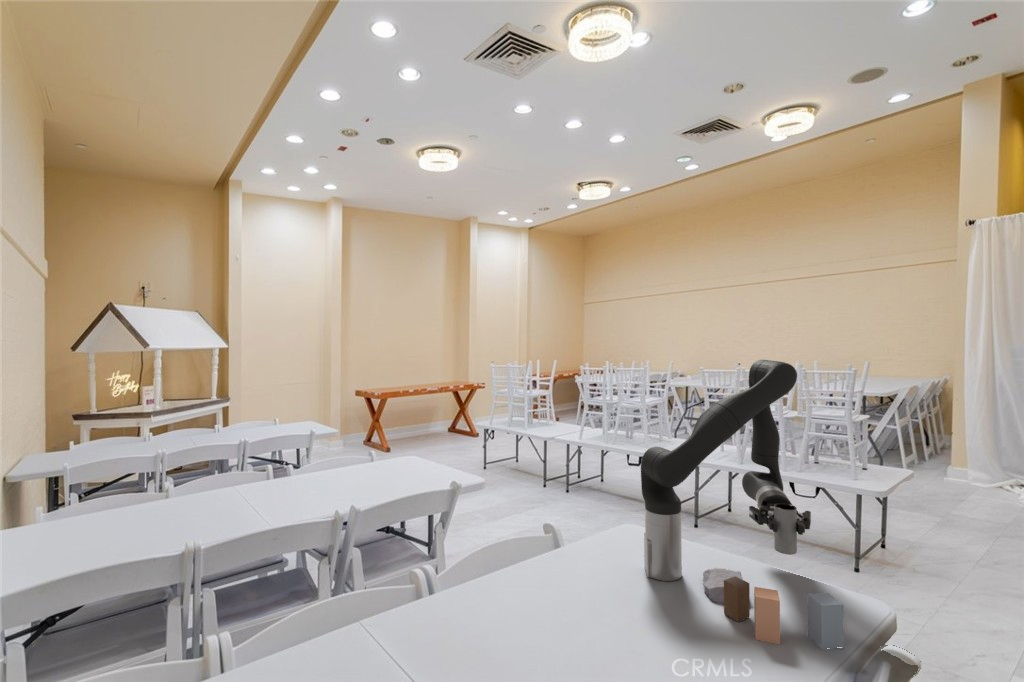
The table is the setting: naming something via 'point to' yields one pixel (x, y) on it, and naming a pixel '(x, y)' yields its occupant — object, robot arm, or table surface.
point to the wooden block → (736, 599)
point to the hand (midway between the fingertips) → (788, 529)
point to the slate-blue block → (825, 620)
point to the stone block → (717, 582)
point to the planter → (785, 528)
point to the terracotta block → (767, 615)
